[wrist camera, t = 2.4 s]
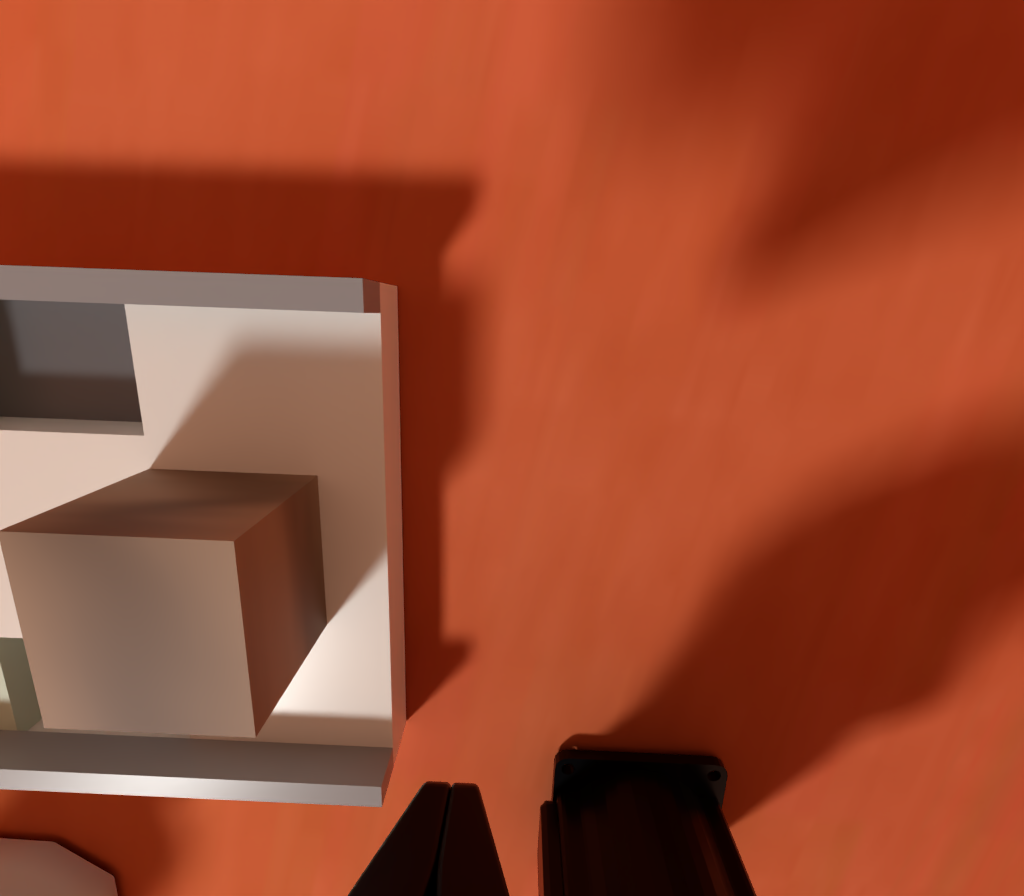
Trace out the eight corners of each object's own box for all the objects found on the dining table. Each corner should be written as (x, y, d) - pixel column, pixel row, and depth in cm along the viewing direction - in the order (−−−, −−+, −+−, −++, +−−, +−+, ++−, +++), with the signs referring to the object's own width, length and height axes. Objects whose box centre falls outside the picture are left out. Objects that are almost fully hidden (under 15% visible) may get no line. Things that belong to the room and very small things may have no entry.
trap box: (397, 286, 16) (348, 275, 11) (406, 722, 20) (372, 838, 15) (-249, 262, 16) (-543, 243, 11) (-108, 698, 20) (-285, 807, 15)
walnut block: (317, 475, 15) (233, 541, 11) (327, 624, 16) (255, 737, 12) (148, 468, 15) (-3, 531, 11) (171, 617, 16) (44, 727, 12)
